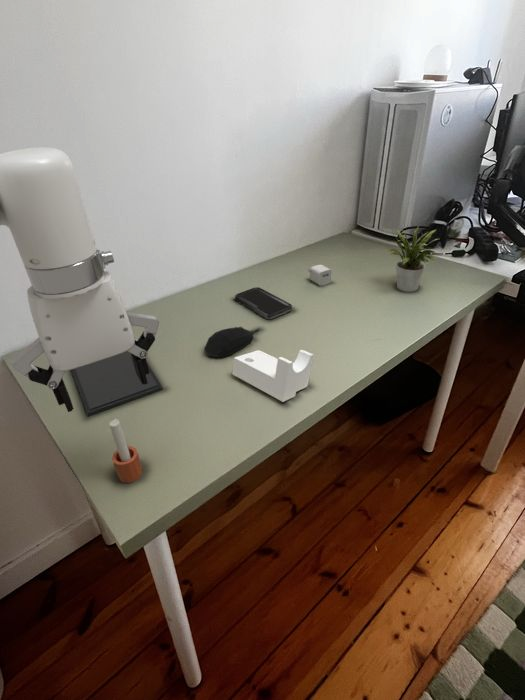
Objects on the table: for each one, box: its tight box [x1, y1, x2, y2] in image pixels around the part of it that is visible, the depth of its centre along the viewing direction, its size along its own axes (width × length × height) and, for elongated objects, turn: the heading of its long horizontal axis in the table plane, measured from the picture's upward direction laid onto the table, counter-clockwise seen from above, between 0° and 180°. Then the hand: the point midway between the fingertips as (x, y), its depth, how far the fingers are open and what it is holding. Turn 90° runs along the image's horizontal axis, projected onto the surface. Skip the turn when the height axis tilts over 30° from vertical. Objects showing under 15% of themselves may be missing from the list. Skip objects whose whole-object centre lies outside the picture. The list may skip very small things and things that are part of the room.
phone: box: [234, 286, 293, 320], centre depth 109 cm, size 8×1×15 cm
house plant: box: [384, 225, 439, 293], centre depth 109 cm, size 14×14×16 cm
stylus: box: [108, 418, 131, 462], centre depth 63 cm, size 1×1×10 cm
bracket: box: [231, 349, 314, 403], centre depth 82 cm, size 13×7×8 cm, turn 47°
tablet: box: [71, 351, 164, 417], centre depth 86 cm, size 14×18×1 cm
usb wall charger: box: [307, 263, 333, 287], centre depth 119 cm, size 4×7×4 cm, turn 29°
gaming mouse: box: [204, 326, 261, 358], centre depth 94 cm, size 6×15×4 cm, turn 134°
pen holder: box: [111, 445, 143, 484], centre depth 65 cm, size 4×4×4 cm
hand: (106, 391), depth 57 cm, fingers open, 9 cm apart
